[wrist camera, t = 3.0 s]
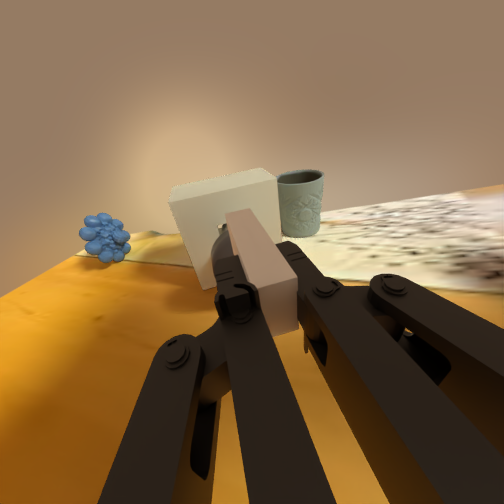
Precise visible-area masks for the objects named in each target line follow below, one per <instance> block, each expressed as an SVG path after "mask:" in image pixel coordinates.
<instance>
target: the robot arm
mask: <svg viewBox="0 0 504 504" xmlns="http://www.w3.org/2000/svg"><path fill="white" fill-rule="evenodd" d="M225 218H226V222H227V227H228V231H229V235H230V240H231V244H232V249H233V253H234V256H230V257H226V258H222V259H218V260H217V261H216V264H215V266H214V272H215V278H216V284H217V290H218V292H217V294H216V295H215V300H214V303H215V306H216V309H217V312H218V315H219V318H218V319H217V321H216V322H215V324H214V325H213V326H212V327H210V328H209V329H208V330H206V331H205V332H203V333H202V334H200V335H198V336H197V337H194V336H192V335H187V334H182V335H178V336H175V337H173V338H171V339H169V340H168V341H166V342H165V343H164V344H163V345H162V346H161V347H160V348H159V349H158V351H157V353H156V355H155V356H154V358H153V361H152V364H151V366H150V369H149V371H148V374H147V377H146V379H145V382H144V384H143V387H142V389H141V392H140V395H139V397H138V400H137V402H136V405H135V408H134V410H133V413H132V415H131V418H130V421H129V423H128V426H127V428H126V431H125V433H124V436H123V439H122V441H121V444H120V446H119V449H118V452H117V454H116V457H115V459H114V462H113V465H112V467H111V470H110V472H109V475H108V477H107V480H106V483H105V485H104V488H103V490H102V493H101V496H100V498H99V501H98V503H97V504H211V502H212V491H213V481H214V470H215V460H216V449H217V439H218V428H219V418H220V408H221V397H222V396H224V395H225V394H226V393H227V392H229V391H230V390H232V396H233V402H234V409H235V415H236V421H237V428H238V434H239V440H240V447H241V453H242V459H243V466H244V472H245V478H246V485H247V491H248V497H249V504H337V503H336V501H335V498H334V496H333V493H332V490H331V488H330V485H329V483H328V480H327V478H326V475H325V472H324V470H323V467H322V465H321V462H320V459H319V457H318V454H317V452H316V449H315V446H314V444H313V441H312V439H311V436H310V433H309V431H308V428H307V426H306V423H305V421H304V418H303V415H302V413H301V410H300V408H299V405H298V402H297V400H296V397H295V395H294V392H293V389H292V387H291V384H290V382H289V379H288V377H287V374H286V371H285V369H284V366H283V364H282V361H281V358H280V356H279V353H278V351H277V348H276V345H275V343H274V340H273V338H272V337H275V336H278V335H281V334H284V333H287V332H291V331H294V330H297V329H299V322H300V324H301V326H302V328H303V330H304V350H305V353H308V348H309V350H310V352H311V353H312V355H313V357H314V359H315V361H316V363H317V365H318V367H319V369H320V371H321V373H322V375H323V376H324V378H325V380H326V382H327V384H328V386H329V388H330V390H331V392H332V394H333V396H334V398H335V399H336V401H337V403H338V405H339V407H340V409H341V411H342V413H343V415H344V417H345V419H346V421H347V422H348V424H349V426H350V428H351V430H352V432H353V434H354V436H355V438H356V440H357V442H358V444H359V445H360V447H361V449H362V451H363V453H364V455H365V457H366V459H367V461H368V463H369V465H370V467H371V469H372V470H373V472H374V474H375V476H376V478H377V480H378V482H379V484H380V486H381V488H382V490H383V492H384V493H385V495H386V497H387V499H388V501H389V503H390V504H504V329H502V328H500V327H498V326H496V325H495V324H493V323H491V322H489V321H487V320H485V319H483V318H481V317H479V316H477V315H475V314H473V313H472V312H470V311H468V310H466V309H464V308H462V307H460V306H458V305H456V304H454V303H452V302H450V301H449V300H447V299H445V298H443V297H441V296H439V295H437V294H435V293H433V292H431V291H429V290H428V289H426V288H424V287H422V286H420V285H418V284H416V283H414V282H412V281H410V280H408V279H406V278H404V277H401V276H399V275H394V274H379V275H376V276H374V277H373V278H372V279H371V281H370V285H369V286H344V285H343V284H341V283H340V282H339V281H338V280H336V279H333V278H330V277H324V275H323V274H322V273H321V272H320V271H319V270H318V269H317V267H316V266H315V265H314V264H313V263H312V262H311V261H310V259H309V258H308V257H307V256H306V255H305V254H304V252H302V250H301V249H300V248H299V247H298V246H297V245H296V244H294V243H292V242H290V241H285V242H282V243H278V244H274V242H273V241H272V239H271V238H270V237H269V235H268V234H267V232H266V231H265V229H264V228H263V226H262V225H261V224H260V222H259V221H258V219H257V218H256V216H255V215H254V213H253V212H252V211H251V209H250V208H247V209H243V210H239V211H234V212H230V213H226V214H225ZM298 320H299V322H298ZM405 328H407V329H408V330H410V331H411V332H412V333H410V332H407V331H405Z"/></svg>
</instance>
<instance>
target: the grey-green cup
mask: <svg viewBox="0 0 504 504" xmlns="http://www.w3.org/2000/svg"><path fill="white" fill-rule="evenodd" d="M276 178H277V187H278V199H279V211H280V221H281V227H282V231H283V233H284V234H285V235H287V236H290V237H296V238H303V237H309V236H312V235H314V234H316V233H317V232H318V230H319V228H320V210H321V200H322V194H323V183H324V173H323V172H321V171H318V170H296V171H291V172H286V173H283V174H281V175H278V176H276Z"/></svg>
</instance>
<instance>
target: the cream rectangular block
mask: <svg viewBox="0 0 504 504" xmlns="http://www.w3.org/2000/svg"><path fill="white" fill-rule="evenodd" d="M168 203H169V206H170V208H171V211H172V213H173V216H174V219H175V221H176V224H177V226H178V229H179V231H180V234H181V236H182V239H183V242H184V244H185V247H186V249H187V252H188V254H189V257H190V259H191V262H192V264H193V267H194V269H195V272H196V274H197V277H198V280H199V282H200V285H201V287H202V290H206V289H209V288H213V287H216V286H217V284H216V279H215V277H214V274H213V268H212V261H211V250H212V246H213V244H214V242H215V241H216V239H217V238H218V237H219V236H220V235H221V234H222V233H223V231H222V228H219V229H218V225H222V224H226V223H227V222H226V218H225V214H226V213H230V212H234V211H239V210H243V209H247V208H250V209H251V211H252V212H253V213H254V215H255V216H256V218H257V219H258V221H259V222H260V224H261V225H262V226H263V228H264V229H265V231H266V232H267V234H268V235H269V237H270V238H271V239H272V241H273V242H274V244H278V243H282V236H281V223H280V211H279V199H278V187H277V178H276V177H274V176H273V175H271V174H270V173H268V172H267V171H265V170H264V169H262V168H257V169H252V170H247V171H243V172H239V173H234V174H229V175H225V176H221V177H216V178H211V179H207V180H202V181H197V182H193V183H189V184H184V185H180V186H174V187H172V191H171V195H170V198H169V202H168Z"/></svg>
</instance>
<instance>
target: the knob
mask: <svg viewBox="0 0 504 504" xmlns="http://www.w3.org/2000/svg"><path fill="white" fill-rule="evenodd" d="M222 231H223V233H222V234H221V235H220V236H219V237H218V238H217V239H216V241H215V242H214V244H213V246H212V250H211V261H212V268H213V274H214V277H215V272H214V266H215V264H216V261H217V260H218V259H222V258H226V257H230V256H234V253H233V249H232V244H231V240H230V235H229V231H228V227H227V223H226V224H223V226H222ZM215 279H216V278H215Z"/></svg>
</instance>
